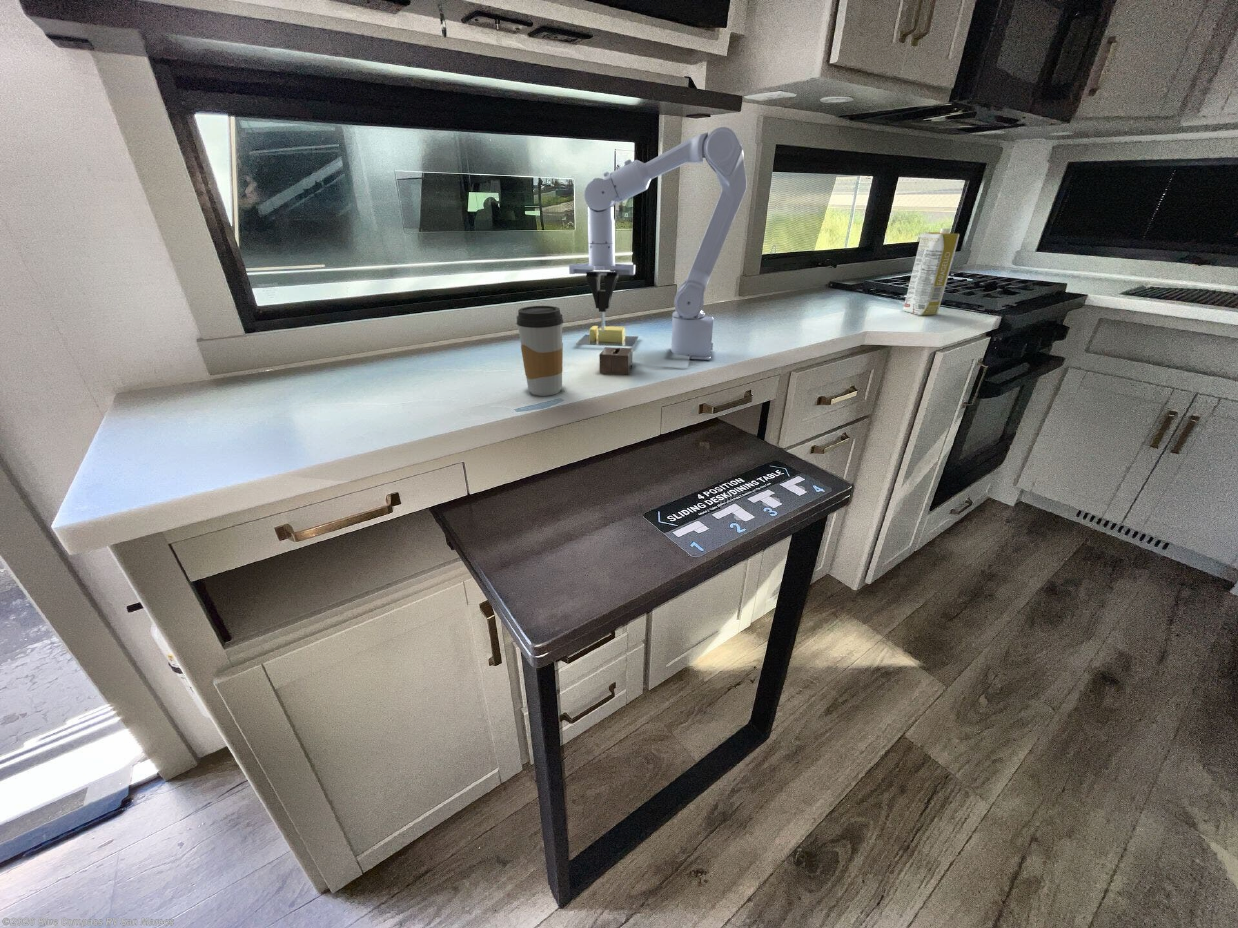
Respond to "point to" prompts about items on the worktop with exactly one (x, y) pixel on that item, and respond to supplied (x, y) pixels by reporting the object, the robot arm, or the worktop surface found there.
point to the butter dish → (627, 342)
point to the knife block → (616, 360)
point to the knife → (602, 308)
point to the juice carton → (930, 272)
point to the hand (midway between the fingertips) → (602, 307)
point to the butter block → (611, 334)
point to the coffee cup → (541, 348)
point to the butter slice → (593, 333)
